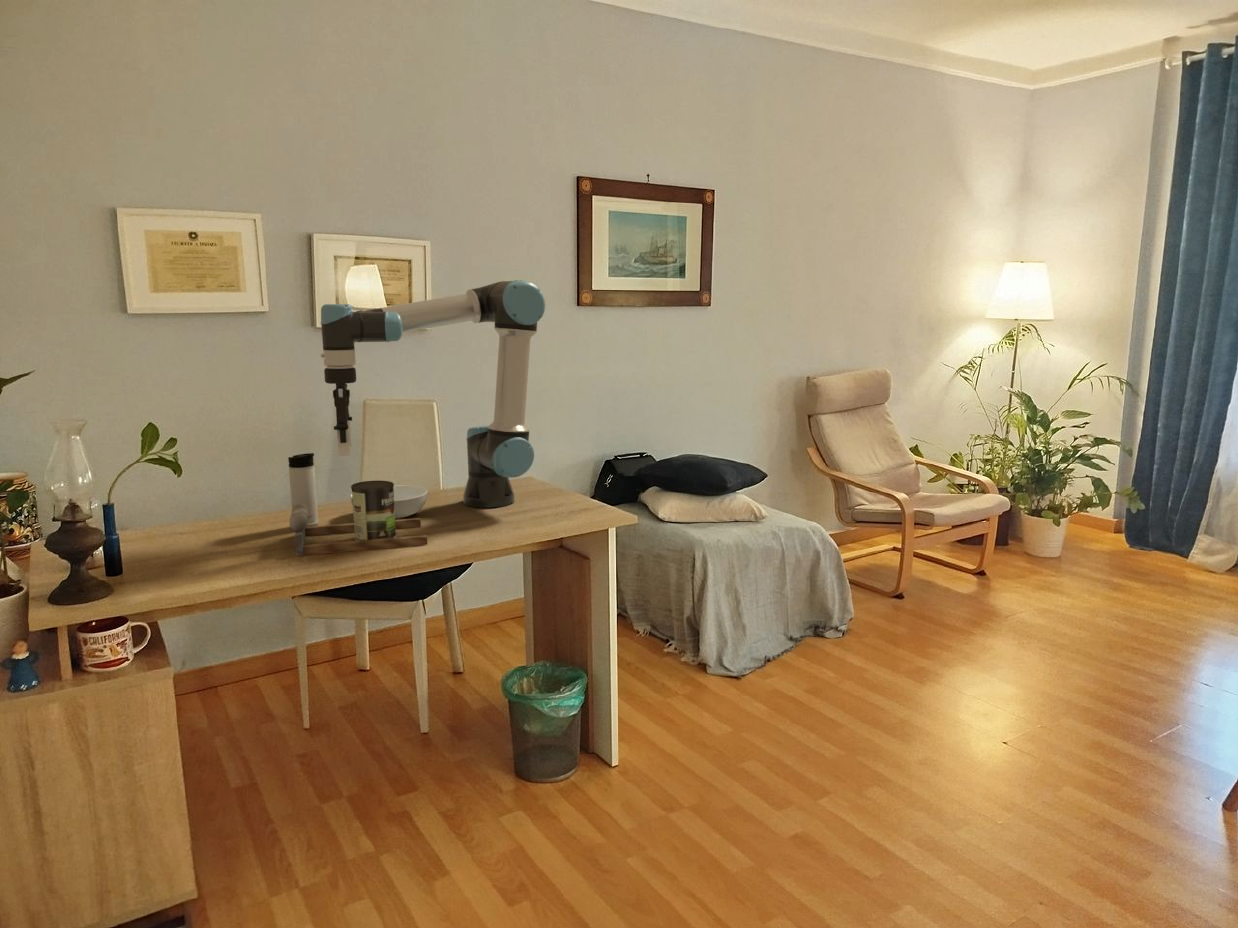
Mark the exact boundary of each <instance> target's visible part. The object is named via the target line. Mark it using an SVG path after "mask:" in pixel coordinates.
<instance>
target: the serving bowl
mask: <svg viewBox="0 0 1238 928" xmlns="http://www.w3.org/2000/svg"><path fill="white" fill-rule="evenodd" d="M393 488H394V509H395V520H401V519H405V518H406V517H409V516H412V515H414V514H416V513H418V512H420V511H421V510H422V509H423V508H424V507H425V504H426V502H427V499H428V493H429V492H428V489H427V488H425V487H422V486H418V485H406V484H405V485H404V484H402V485H400V484H399V485H395V484H394V487H393ZM349 498H350V501H351V504H352V506H353V501H352V493H351V494H350V495H349Z"/></svg>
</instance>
